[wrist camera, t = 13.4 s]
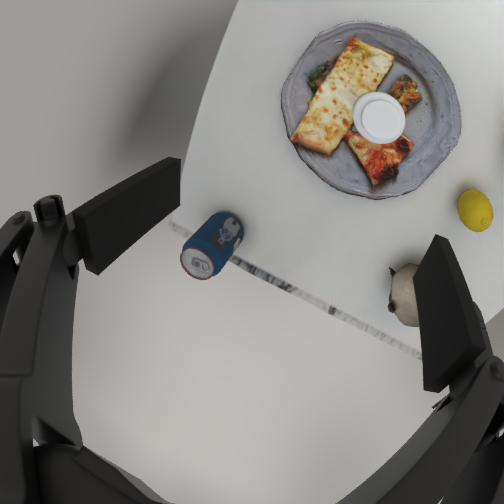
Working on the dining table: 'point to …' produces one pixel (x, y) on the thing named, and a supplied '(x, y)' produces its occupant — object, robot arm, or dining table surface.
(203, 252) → the soda can
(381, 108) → the supplement bottle
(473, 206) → the lemon
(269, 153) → the dining table surface
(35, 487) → the robot arm
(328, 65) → the food plate
